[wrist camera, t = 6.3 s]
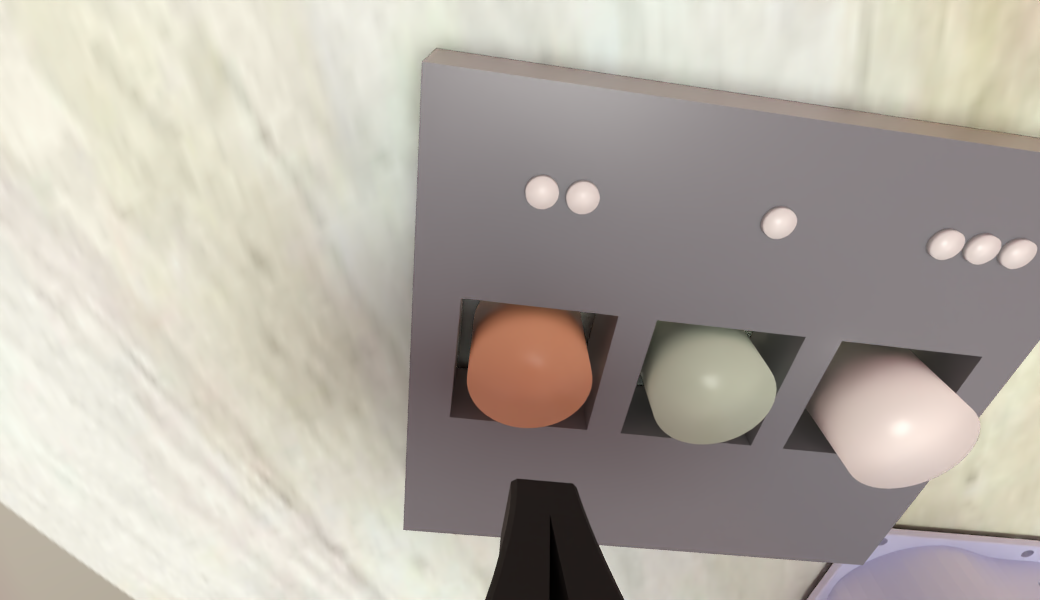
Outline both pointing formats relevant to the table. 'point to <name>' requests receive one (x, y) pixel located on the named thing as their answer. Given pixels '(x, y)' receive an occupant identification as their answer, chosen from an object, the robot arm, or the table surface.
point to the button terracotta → (528, 364)
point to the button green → (706, 382)
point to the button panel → (701, 290)
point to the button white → (891, 416)
